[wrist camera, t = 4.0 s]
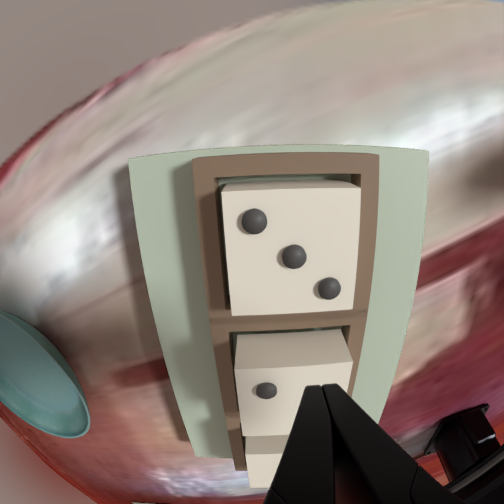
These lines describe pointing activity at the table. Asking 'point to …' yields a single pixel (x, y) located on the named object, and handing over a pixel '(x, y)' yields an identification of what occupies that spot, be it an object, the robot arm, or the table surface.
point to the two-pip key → (285, 375)
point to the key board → (228, 327)
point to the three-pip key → (291, 245)
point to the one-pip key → (263, 458)
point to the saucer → (39, 381)
